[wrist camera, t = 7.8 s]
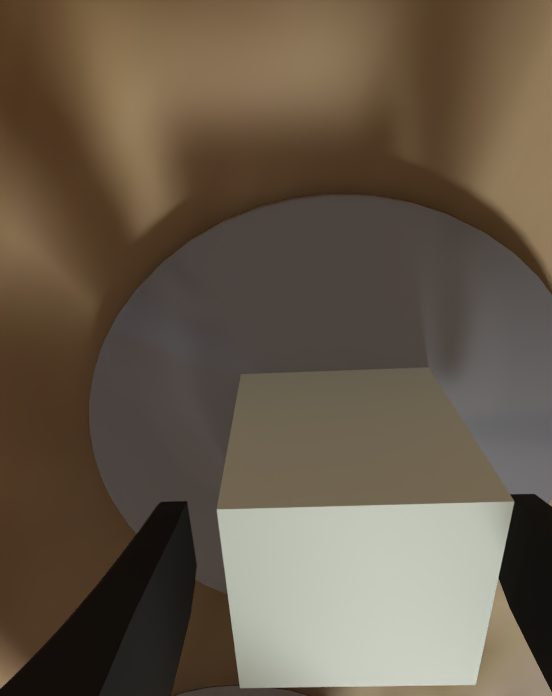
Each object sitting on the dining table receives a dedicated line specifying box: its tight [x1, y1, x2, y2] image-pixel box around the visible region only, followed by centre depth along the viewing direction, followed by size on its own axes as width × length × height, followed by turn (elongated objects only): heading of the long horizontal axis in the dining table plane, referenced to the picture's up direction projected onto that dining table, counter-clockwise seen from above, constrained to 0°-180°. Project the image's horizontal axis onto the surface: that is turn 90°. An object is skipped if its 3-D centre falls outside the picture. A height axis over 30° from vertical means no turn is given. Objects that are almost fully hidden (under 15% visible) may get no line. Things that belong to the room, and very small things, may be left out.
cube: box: [217, 367, 514, 688], centre depth 11 cm, size 5×5×5 cm
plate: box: [89, 193, 552, 595], centre depth 14 cm, size 14×14×1 cm
